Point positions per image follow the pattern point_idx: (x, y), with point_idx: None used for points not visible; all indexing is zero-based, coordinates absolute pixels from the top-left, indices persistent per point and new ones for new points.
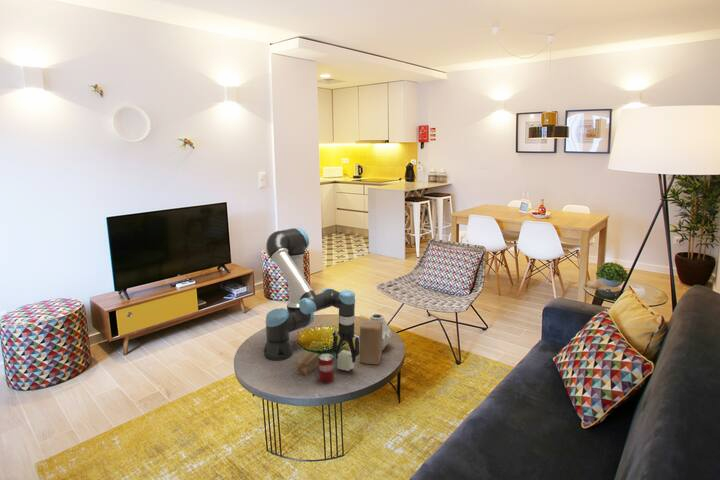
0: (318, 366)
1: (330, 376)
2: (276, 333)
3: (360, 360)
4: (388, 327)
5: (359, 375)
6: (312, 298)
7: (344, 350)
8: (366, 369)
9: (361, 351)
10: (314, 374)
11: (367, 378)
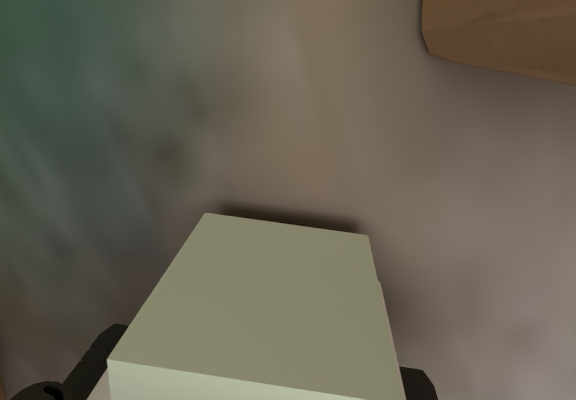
0: None
1: None
2: None
3: (444, 57)
4: None
5: (458, 330)
6: None
7: (153, 370)
8: (535, 194)
9: (545, 77)
10: (48, 379)
11: (554, 365)
